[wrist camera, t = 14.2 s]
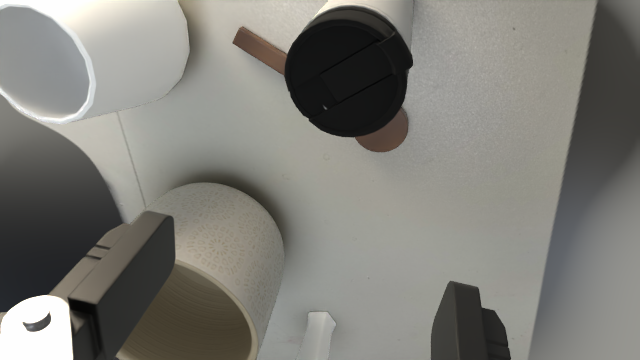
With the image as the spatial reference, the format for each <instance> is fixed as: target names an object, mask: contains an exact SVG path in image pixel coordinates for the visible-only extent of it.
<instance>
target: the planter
mask: <svg viewBox="0 0 640 360" xmlns="http://www.w3.org/2000/svg"><path fill="white" fill-rule="evenodd" d="M146 210H149V211H154V212H158V213H162V214H167V215H171V216H172V217H173V218H174V229H175V252H176V257H175V263H174V267H173V270H172V272H171V274H170V276H169V278H168V279H167V280H166V282H165V283H164V285H163V286H162V288H161V289H160V291H159V292H158V294H157V295H156V297H155V298H154V300H153V301H152V303H151V304H150V306H149V307H148V309H147V310H146V312H145V313H144V315H143V316H142V318H141V319H140V321H139V322H138V324H137V325H136V326H135V328H134V329H133V331H132V332H131V334H130V335H129V337H128V338H127V340H126V341H125V343H124V344H123V346H122V347H121V349H120V350H119V352H118V353H117V355H116V357H117V358H119V359H120V360H256V359H257V356H258V354H259V351H260V348H261V345H262V342H263V339H264V336H265V333H266V330H267V327H268V324H269V320H270V317H271V314H272V311H273V308H274V305H275V302H276V298H277V295H278V292H279V288H280V284H281V280H282V275H283V268H284V258H285V254H284V245H283V240H282V237H281V234H280V231H279V229H278V227H277V225H276V223H275V221H274V220H273V218H272V217H271V215H270V214H269V213H268V212H267V211H266V210H265V208H264V207H263V206H262V205H260V204H259V203H258V202H257V201H256V200H254V199H253V198H252V197H250V196H248V195H247V194H245V193H243V192H241V191H239V190H237V189H235V188H232V187H229V186H226V185H222V184H217V183H192V184H187V185H183V186H180V187H177V188H175V189H172V190H170V191H168V192H167V193H165V194H163V195H162V196H161V197H159V198H158V199H157V200H155V201H154V202H153V203H151V204H150V205H149V206H148V207H147V208H146V209H145V210H143V211H142V212H141V213H140V214H139V215H138V216H137V217H136V218H135V219H134V220H133V221H132V222H131V223H130V224H131V225H132V224H133V223H134V222H135V221H136V219H137V218H138V217H139V216H140V215H141V214H142V213H143V212H144V211H146Z"/></svg>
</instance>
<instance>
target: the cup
mask: <svg viewBox="0 0 640 360" xmlns="http://www.w3.org/2000/svg"><path fill="white" fill-rule="evenodd" d="M189 52H190V47H189V37H188V28H187V20H186V18H185V16H184V14H183V12H182V9H181V7H180V5H179V3H178V1H177V0H0V94H1V95H3V96H4V97H5V98H6V99H7V100H8V101H9V102H10V103H12V104H13V105H14V106H15V107H16V108H17V109H18V110H20V111H21V112H23V113H25V114H27V115H29V116H32V117H34V118H36V119H38V120H40V121H42V122H49V123H57V124H66V123H70V122H74V121H79V120H83V119H87V118H91V117H95V116H100V115H104V114H108V113H112V112H116V111H121V110H125V109H129V108H133V107H137V106H140V105H143V104H146V103H149V102H152V101H155V100H159V99H161V98H163V97H164V96H165V95H166V94H167V93H168V92H169V91H170V90H171V89H172V88H173V87H174V86H175V85H176V84H177V83H178V82H179V81H180V79H181V78H182V76H183V72H184V69H185V65H186V62H187V59H188V55H189Z"/></svg>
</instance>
